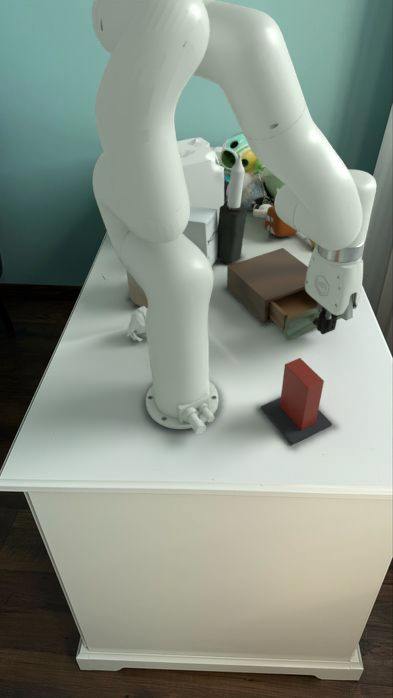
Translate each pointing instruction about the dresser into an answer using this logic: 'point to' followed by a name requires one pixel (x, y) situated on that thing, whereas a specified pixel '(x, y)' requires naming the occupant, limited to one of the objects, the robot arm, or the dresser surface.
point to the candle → (232, 218)
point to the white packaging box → (203, 231)
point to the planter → (136, 292)
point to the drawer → (294, 313)
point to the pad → (289, 426)
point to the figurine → (137, 323)
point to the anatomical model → (250, 191)
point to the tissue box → (202, 174)
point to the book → (301, 393)
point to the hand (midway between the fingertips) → (325, 329)
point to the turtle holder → (240, 145)
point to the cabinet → (265, 280)
